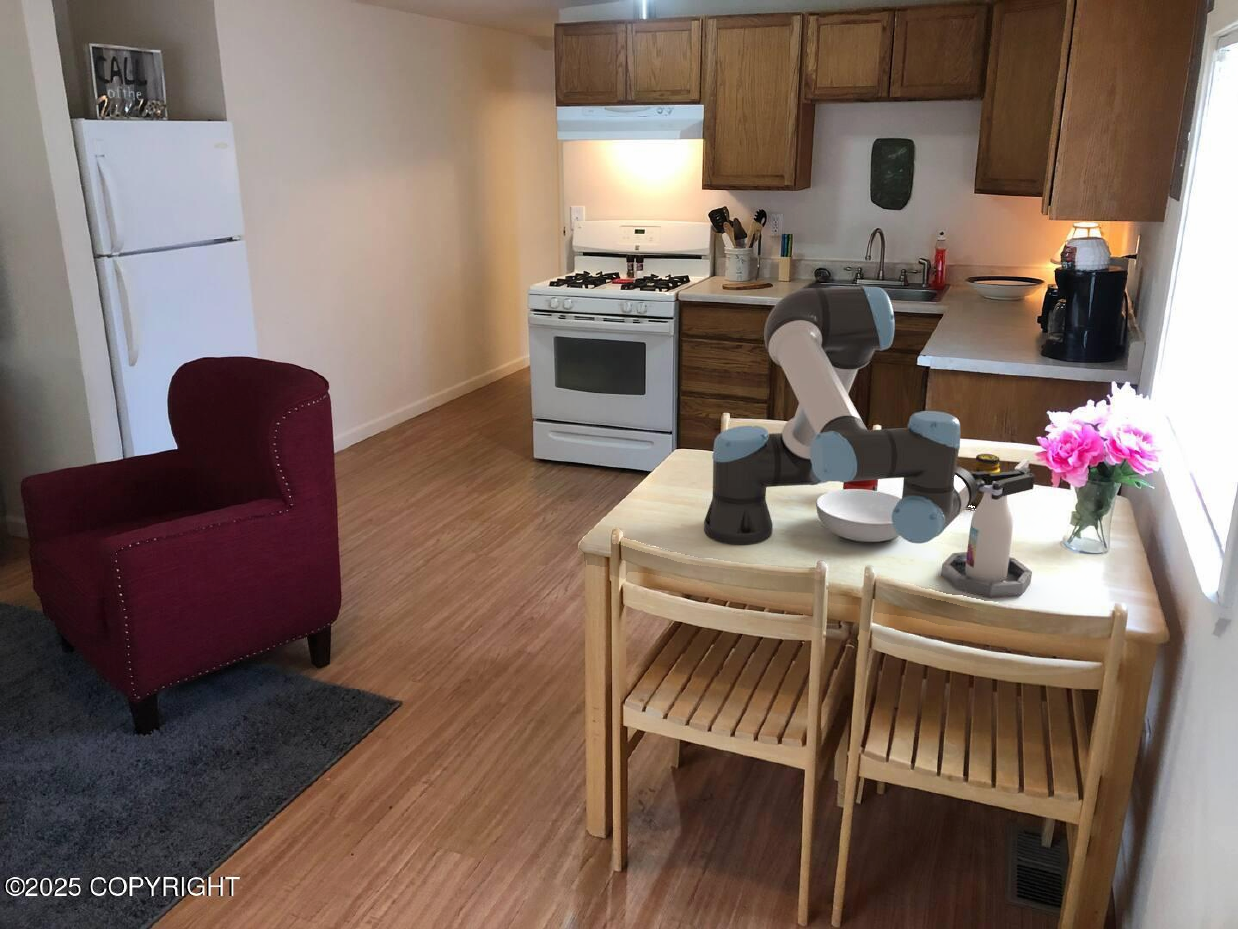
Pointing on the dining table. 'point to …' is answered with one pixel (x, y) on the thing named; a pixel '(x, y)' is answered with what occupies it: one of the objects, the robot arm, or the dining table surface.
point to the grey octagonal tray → (1011, 586)
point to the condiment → (988, 465)
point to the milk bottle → (989, 540)
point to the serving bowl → (858, 514)
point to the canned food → (861, 485)
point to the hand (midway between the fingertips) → (986, 458)
